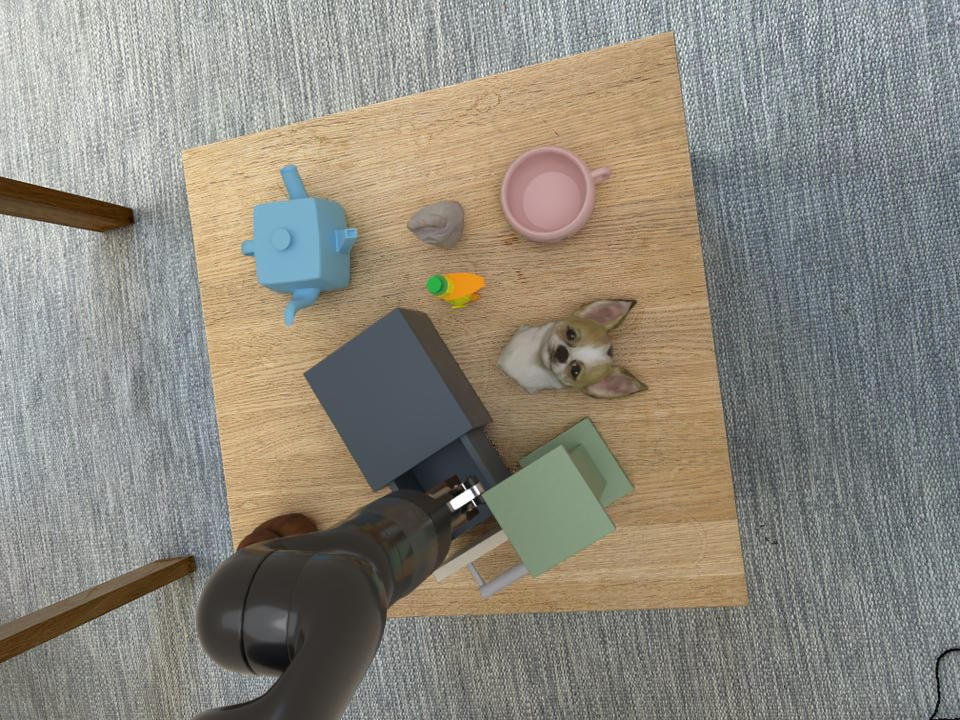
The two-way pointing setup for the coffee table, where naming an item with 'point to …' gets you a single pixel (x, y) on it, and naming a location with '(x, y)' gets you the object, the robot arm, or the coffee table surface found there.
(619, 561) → the coffee table surface
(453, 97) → the coffee table surface
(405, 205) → the coffee table surface
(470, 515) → the block
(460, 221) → the fossil
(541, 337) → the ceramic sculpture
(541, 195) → the mug
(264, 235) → the teapot
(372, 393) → the cabinet
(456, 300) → the toy figure
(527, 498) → the stand
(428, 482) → the drawer
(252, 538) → the wooden figurine
